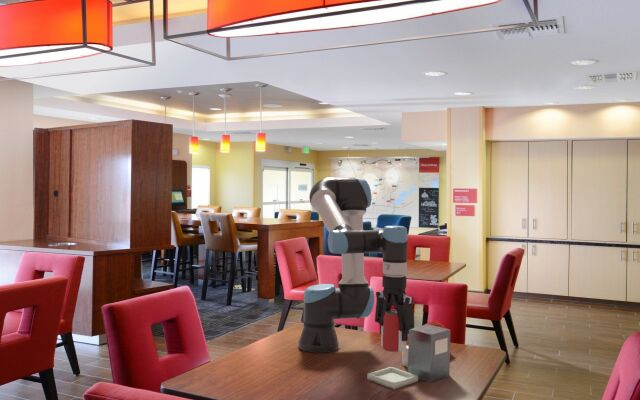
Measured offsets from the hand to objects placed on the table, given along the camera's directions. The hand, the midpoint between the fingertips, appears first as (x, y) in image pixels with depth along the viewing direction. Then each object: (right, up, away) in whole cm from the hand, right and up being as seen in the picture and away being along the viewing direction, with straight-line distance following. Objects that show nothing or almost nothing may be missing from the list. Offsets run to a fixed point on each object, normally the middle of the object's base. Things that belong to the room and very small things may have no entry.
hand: (393, 348), depth 177 cm
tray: (0, -10, 0) cm, 10 cm away
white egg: (+8, -10, +17) cm, 21 cm away
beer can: (0, -1, 0) cm, 1 cm away
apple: (+19, -10, +33) cm, 40 cm away
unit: (+12, -10, +6) cm, 17 cm away
